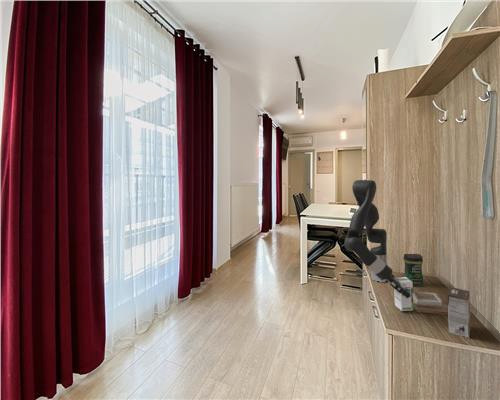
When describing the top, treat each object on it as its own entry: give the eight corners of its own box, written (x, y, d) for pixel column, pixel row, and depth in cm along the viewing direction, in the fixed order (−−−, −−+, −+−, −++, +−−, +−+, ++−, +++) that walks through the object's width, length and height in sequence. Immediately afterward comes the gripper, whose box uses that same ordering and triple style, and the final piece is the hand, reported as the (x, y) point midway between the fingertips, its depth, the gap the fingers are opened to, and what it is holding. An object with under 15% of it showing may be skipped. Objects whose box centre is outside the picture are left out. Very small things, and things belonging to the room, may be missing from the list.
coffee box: (450, 322, 103) (449, 286, 102) (470, 328, 98) (469, 290, 97) (448, 332, 96) (447, 294, 95) (469, 339, 92) (468, 298, 91)
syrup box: (401, 311, 112) (400, 281, 111) (394, 305, 118) (393, 276, 117) (413, 310, 112) (413, 281, 111) (406, 304, 118) (405, 276, 117)
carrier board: (406, 293, 131) (406, 290, 131) (436, 296, 126) (436, 293, 126) (416, 311, 113) (416, 308, 113) (453, 315, 107) (452, 312, 107)
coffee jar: (407, 286, 140) (406, 256, 139) (401, 281, 147) (401, 252, 146) (426, 287, 138) (425, 255, 137) (419, 281, 145) (418, 252, 145)
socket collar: (411, 296, 124) (411, 291, 124) (434, 298, 121) (434, 293, 120) (417, 305, 115) (417, 299, 115) (442, 308, 111) (442, 302, 111)
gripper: (387, 268, 110) (417, 295, 106) (382, 258, 123) (409, 282, 119) (375, 278, 112) (404, 305, 108) (371, 267, 125) (397, 291, 122)
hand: (407, 293), depth 114 cm, fingers closed on syrup box, 7 cm apart
